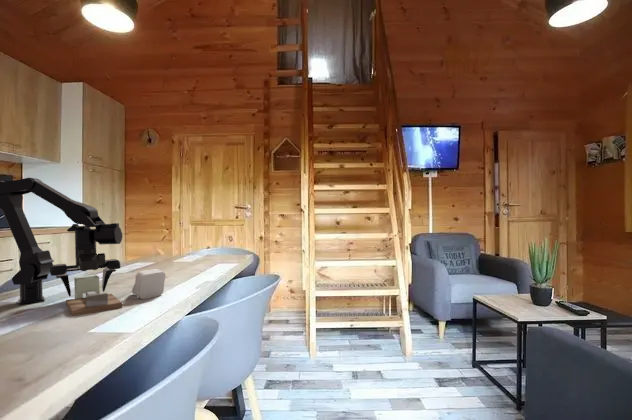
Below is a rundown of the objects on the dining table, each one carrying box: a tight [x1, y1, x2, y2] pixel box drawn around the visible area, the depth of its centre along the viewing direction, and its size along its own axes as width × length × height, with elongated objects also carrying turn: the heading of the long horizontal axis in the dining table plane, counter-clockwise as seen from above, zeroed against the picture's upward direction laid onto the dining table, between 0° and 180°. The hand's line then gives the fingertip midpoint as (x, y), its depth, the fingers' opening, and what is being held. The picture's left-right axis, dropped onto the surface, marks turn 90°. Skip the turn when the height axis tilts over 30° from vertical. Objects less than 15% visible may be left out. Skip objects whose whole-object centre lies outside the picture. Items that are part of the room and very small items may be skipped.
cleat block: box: [73, 274, 101, 299], centre depth 118 cm, size 7×6×7 cm
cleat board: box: [65, 290, 123, 317], centre depth 108 cm, size 16×12×4 cm
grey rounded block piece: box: [131, 268, 166, 300], centre depth 121 cm, size 8×10×10 cm
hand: (87, 293), depth 118 cm, fingers open, 9 cm apart
